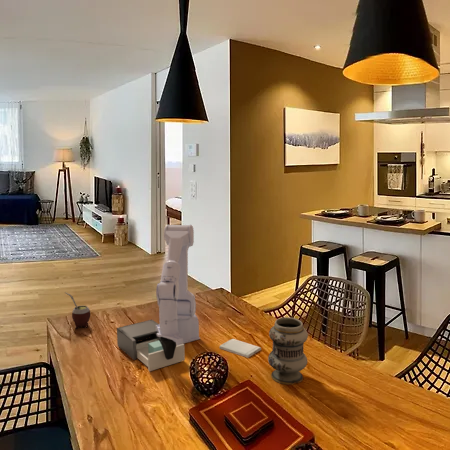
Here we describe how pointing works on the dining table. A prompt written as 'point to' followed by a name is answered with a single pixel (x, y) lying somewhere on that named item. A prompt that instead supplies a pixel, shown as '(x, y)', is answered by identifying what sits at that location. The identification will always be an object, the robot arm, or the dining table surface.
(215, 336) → the dining table surface
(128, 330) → the housing
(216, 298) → the dining table surface
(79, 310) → the mate gourd
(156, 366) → the tray
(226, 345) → the hard drive
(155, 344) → the teal block
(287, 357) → the apothecary jar
